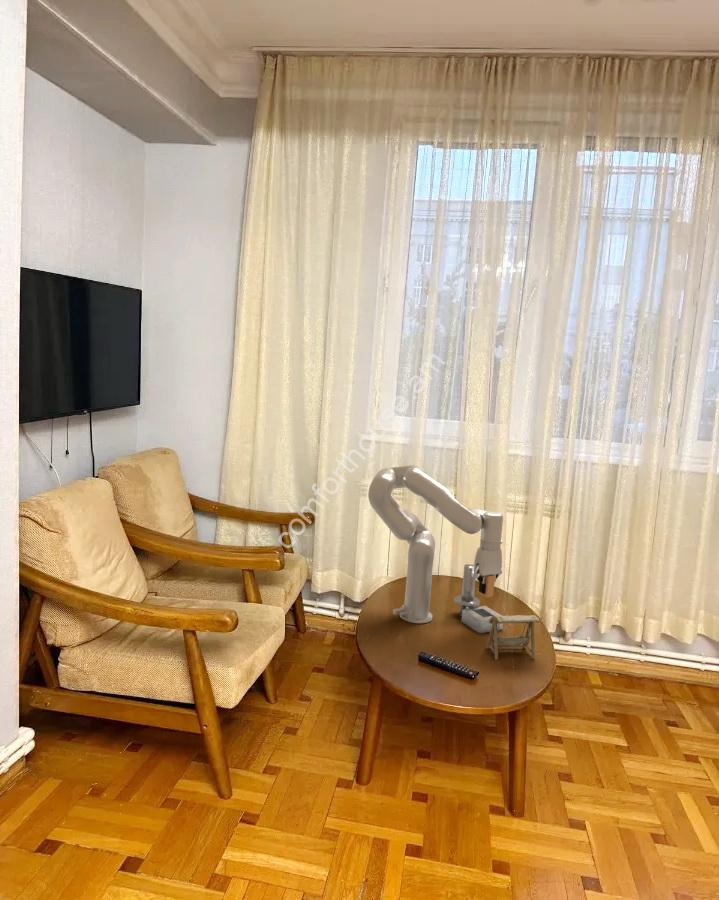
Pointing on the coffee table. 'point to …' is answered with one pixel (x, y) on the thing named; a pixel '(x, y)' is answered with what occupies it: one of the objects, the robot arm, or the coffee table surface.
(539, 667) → the coffee table surface
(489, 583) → the orange rectangular block
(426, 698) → the coffee table surface
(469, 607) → the bracket head
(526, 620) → the swing bench
